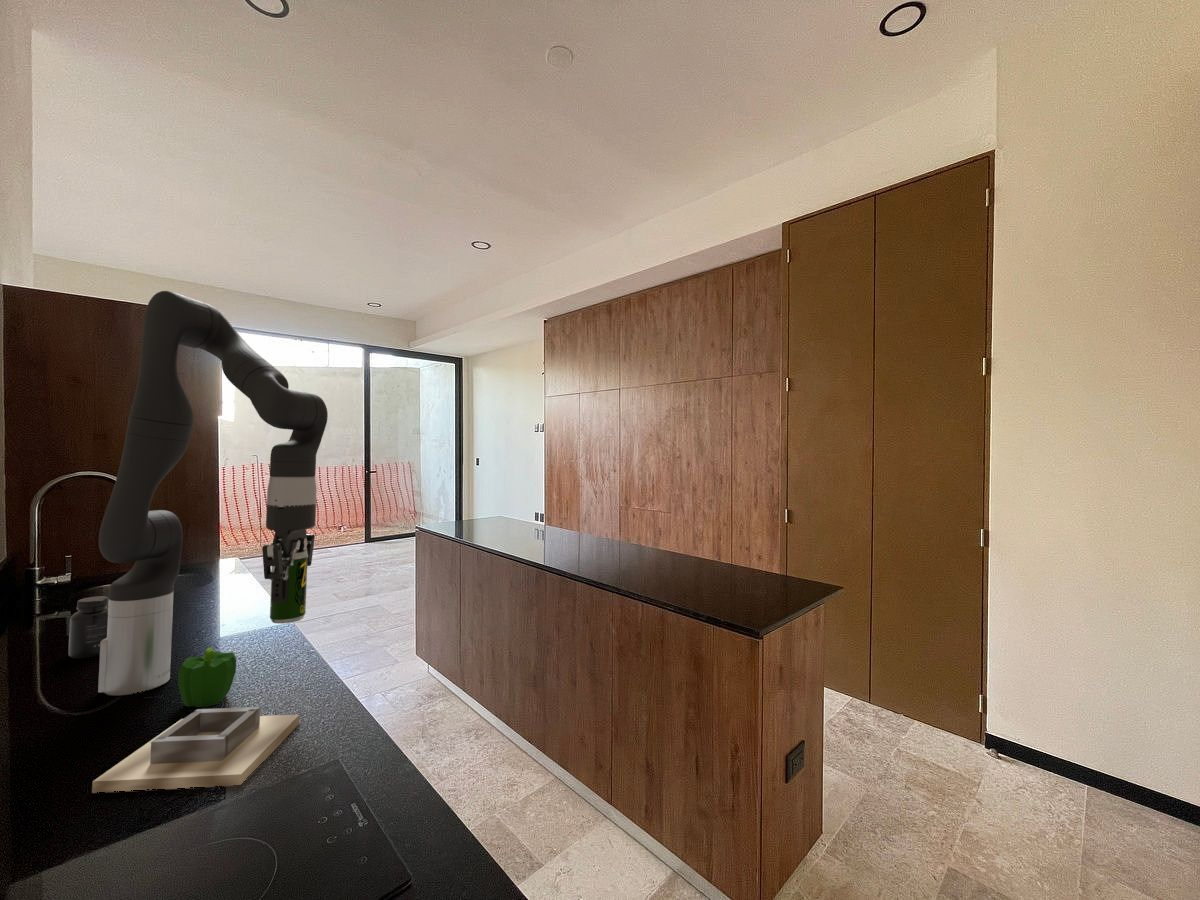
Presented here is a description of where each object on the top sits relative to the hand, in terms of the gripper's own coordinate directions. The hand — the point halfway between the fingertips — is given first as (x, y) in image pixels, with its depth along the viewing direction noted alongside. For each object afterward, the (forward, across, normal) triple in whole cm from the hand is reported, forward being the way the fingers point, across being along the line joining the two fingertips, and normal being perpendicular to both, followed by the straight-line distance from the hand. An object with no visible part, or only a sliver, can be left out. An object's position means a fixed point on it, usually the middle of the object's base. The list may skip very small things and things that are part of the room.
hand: (288, 596), depth 89 cm
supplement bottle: (+20, -29, -54) cm, 65 cm away
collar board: (+19, +14, -4) cm, 24 cm away
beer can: (+4, 0, 0) cm, 4 cm away
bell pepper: (+20, -3, -15) cm, 25 cm away
